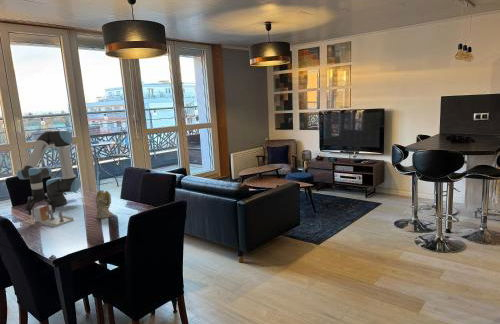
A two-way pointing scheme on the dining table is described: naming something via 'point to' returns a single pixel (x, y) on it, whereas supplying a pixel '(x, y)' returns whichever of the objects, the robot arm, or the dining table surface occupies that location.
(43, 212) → the small box
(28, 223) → the dining table surface
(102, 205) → the figurine
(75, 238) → the dining table surface
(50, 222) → the pin tray
